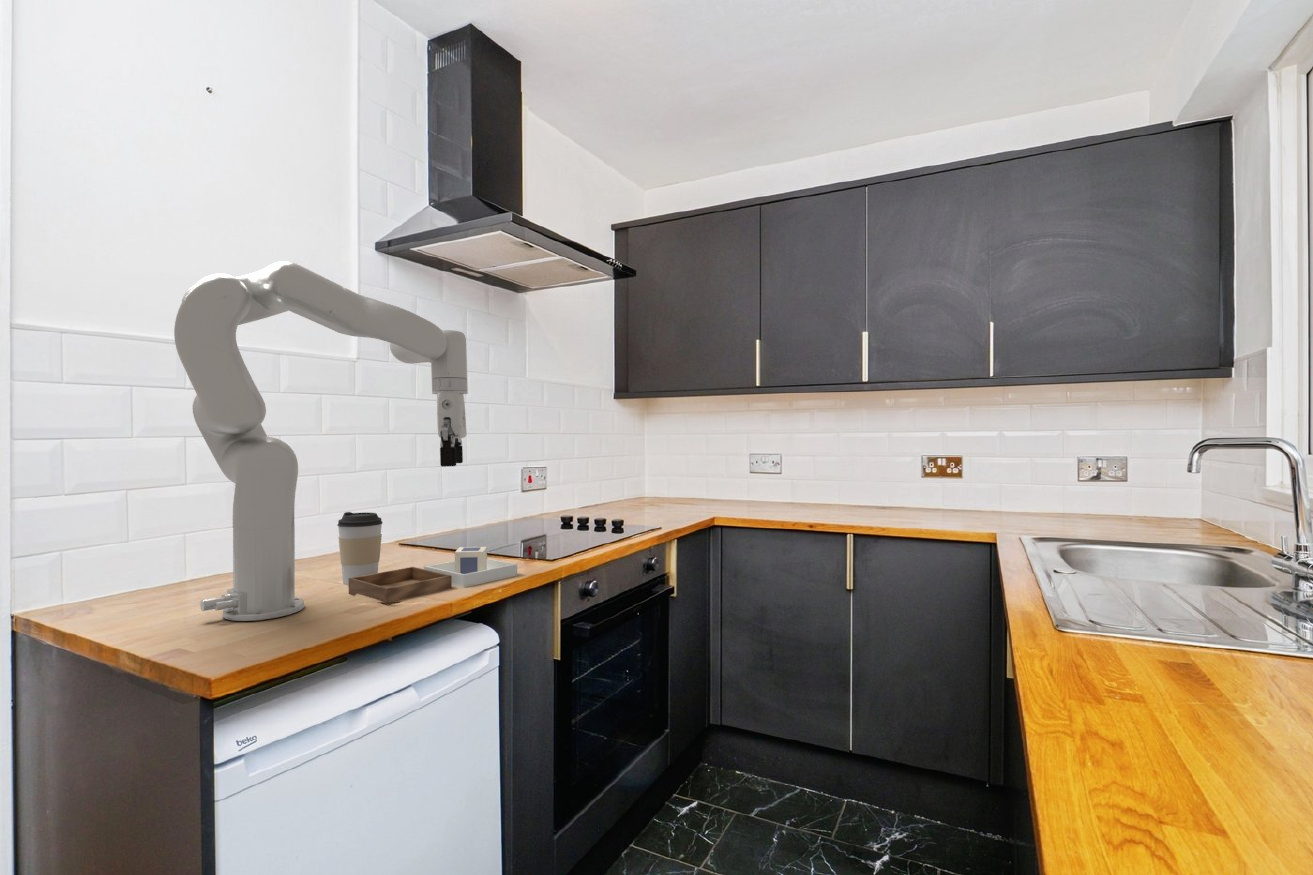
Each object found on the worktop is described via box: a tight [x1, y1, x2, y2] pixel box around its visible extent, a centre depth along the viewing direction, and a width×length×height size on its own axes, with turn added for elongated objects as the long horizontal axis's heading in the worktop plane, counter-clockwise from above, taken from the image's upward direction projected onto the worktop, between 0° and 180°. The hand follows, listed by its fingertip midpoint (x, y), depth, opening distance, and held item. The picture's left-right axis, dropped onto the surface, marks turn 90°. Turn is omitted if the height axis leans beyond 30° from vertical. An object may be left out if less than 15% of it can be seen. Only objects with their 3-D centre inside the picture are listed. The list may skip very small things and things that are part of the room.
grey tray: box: [423, 558, 518, 589], centre depth 143 cm, size 14×14×3 cm
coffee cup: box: [336, 511, 383, 586], centre depth 140 cm, size 9×9×15 cm
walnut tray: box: [348, 566, 453, 606], centre depth 131 cm, size 14×14×3 cm
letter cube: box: [454, 546, 488, 574], centre depth 142 cm, size 6×6×6 cm
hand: (452, 464), depth 142 cm, fingers open, 9 cm apart
